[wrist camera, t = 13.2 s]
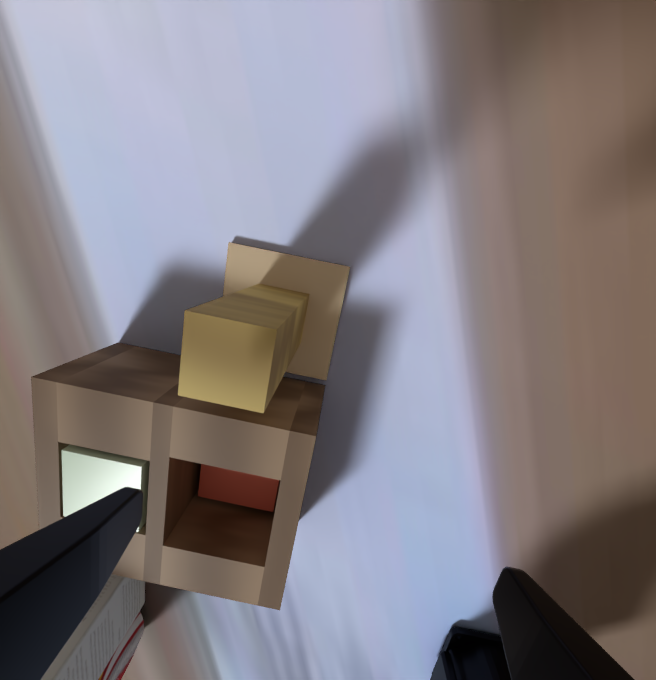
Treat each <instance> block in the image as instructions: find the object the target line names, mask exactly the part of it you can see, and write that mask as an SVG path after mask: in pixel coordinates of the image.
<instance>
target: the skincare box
mask: <svg viewBox="0 0 656 680" xmlns="http://www.w3.org/2000/svg"><path fill="white" fill-rule="evenodd" d="M144 603H145V581H141V580H136V579H131V578H127V577H122V576H117V575H112V574H111V576H110V577H109V579H108V581H107V583H106V584H105V586H104V588H103V589H102V591H101V593H100V594H99V596H98V597H97V599H96V600H95V602H94V603H93V605H92V606H91V608H90V609H89V611H88V612H87V614H86V615H85V617H84V618H83V619H82V621H81V622H80V624H79V625H78V627H77V628H76V629H75V631H74V632H73V634H72V635H71V637H70V638H69V640H68V641H67V642H66V644H65V645H64V647H63V648H62V650H61V651H60V652H59V654H58V655H57V657H56V658H55V660H54V661H53V663H52V664H51V665H50V667H49V668H48V670H47V671H46V673H45V674H44V675H43V677H42V678H41V680H98V679H99V677H100V676H101V674H102V672H103V671H104V669H105V667H106V666H107V664H108V662H109V661H110V659H111V657H112V656H113V654H114V652H115V651H116V649H117V647H118V646H119V644H120V643H121V641H122V639H123V638H124V636H125V634H126V633H127V631H128V630H129V628H130V626H131V625H132V623H133V622H134V620H135V618H136V617H137V615H138V613H139V612H140V610H141V608H142V606H143V605H144Z"/></svg>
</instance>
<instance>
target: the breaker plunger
mask: <svg viewBox="0 0 656 680" xmlns="http://www.w3.org/2000/svg"><path fill="white" fill-rule="evenodd" d="M280 481H281V480H276V479H271V478H267V477H262V476H257V475H252V474H247V473H243V472H238V471H233V470H228V469H224V468H219V467H214V466H209V465H204V464H201V471H200V480H199V489H198V496H199V497H204V498H208V499H213V500H218V501H223V502H227V503H232V504H237V505H242V506H246V507H251V508H256V509H261V510H266V511H270V512H273V511H274V507H275V504H276V500H277V497H278V492H279V486H280Z"/></svg>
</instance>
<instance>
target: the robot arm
mask: <svg viewBox="0 0 656 680" xmlns="http://www.w3.org/2000/svg"><path fill="white" fill-rule="evenodd" d="M142 510H143V491H142V490H140V489H136V488H131V487H124V488H121V489H119V490H117V491H115V492H113V493H111V494H109V495H107V496H106V497H104V498H102V499H100V500H98V501H96V502H94V503H92V504H90V505H88V506H86V507H84V508H82V509H80V510H78V511H76V512H74V513H72V514H70V515H68V516H66V517H64V518H62V519H60V520H58V521H56V522H54V523H52V524H50V525H48V526H46V527H44V528H42V529H40V530H38V531H36V532H34V533H32V534H30V535H28V536H26V537H24V538H22V539H20V540H18V541H17V542H15V543H13V544H11V545H9V546H7V547H5V548H3V549H1V550H0V680H41V678H42V677H43V675H44V674H45V673H46V671H47V670H48V668H49V667H50V665H51V664H52V663H53V661H54V660H55V658H56V657H57V655H58V654H59V652H60V651H61V650H62V648H63V647H64V645H65V644H66V642H67V641H68V640H69V638H70V637H71V635H72V634H73V632H74V631H75V629H76V628H77V627H78V625H79V624H80V622H81V621H82V619H83V618H84V617H85V615H86V614H87V612H88V611H89V609H90V608H91V606H92V605H93V603H94V602H95V600H96V599H97V597H98V596H99V594H100V593H101V591H102V589H103V588H104V586H105V584H106V583H107V581H108V579H109V577H110V576H111V574H112V572H113V570H114V569H115V567H116V565H117V564H118V562H119V560H120V558H121V557H122V555H123V553H124V551H125V550H126V548H127V546H128V544H129V543H130V541H131V539H132V537H133V536H134V534H135V532H136V531H137V529H138V527H139V525H140V522H141V519H142ZM493 604H494V608H495V613H496V617H497V621H498V625H499V630H500V634H501V636H496V635H492V634H487V633H482V632H477V631H473V630H468V629H463V628H459V627H455V628H452V629H451V630H450V632H449V635H448V637H447V640H446V642H445V645H444V647H443V649H442V652H441V653H440V655H439V657H438V660H437V662H436V665H435V667H434V670H433V672H432V676H431V679H430V680H634V679H633V678H632V677H631V676H630V675H629V674H628V673H627V672H626V671H625V670H624V669H623V668H622V667H621V666H620V665H619V664H618V663H617V662H616V661H615V660H614V659H613V658H612V657H611V656H610V655H609V654H608V653H607V652H606V651H605V650H604V649H603V648H602V647H601V646H600V645H599V644H598V643H597V642H596V641H595V640H594V639H593V638H592V637H591V636H590V635H589V634H588V633H587V632H586V631H585V630H584V629H583V628H581V627H580V626H579V625H578V624H577V623H576V622H575V621H574V620H573V619H572V618H571V617H570V616H569V615H568V614H567V613H566V612H565V611H564V610H563V609H562V608H561V607H560V606H559V605H558V604H557V603H556V602H555V601H554V600H553V599H552V598H551V597H550V596H549V595H548V594H547V593H546V592H545V591H544V590H543V589H542V588H541V587H540V586H539V585H538V584H537V583H536V582H535V581H534V580H533V579H532V578H531V577H530V576H529V575H528V574H527V573H525V572H524V571H523V570H520V569H516V568H511V567H505V568H504V569H503V570H502V572H501V574H500V576H499V579H498V581H497V583H496V585H495V588H494V590H493Z"/></svg>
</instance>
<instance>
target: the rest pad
mask: <svg viewBox="0 0 656 680" xmlns="http://www.w3.org/2000/svg"><path fill="white" fill-rule="evenodd" d="M349 270H350V267H349V266H344V265H339V264H334V263H329V262H324V261H319V260H314V259H309V258H304V257H300V256H295V255H290V254H285V253H280V252H275V251H270V250H265V249H260V248H255V247H250V246H245V245H241V244H236V243H230V242H229V244H228V253H227V262H226V271H225V280H224V290H223V296H226V295H229V294H231V293H234V292H237V291H240V290H243V289H245V288H248V287H251V286H254V285H256V284H264V285H269V286H273V287H278V288H283V289H288V290H293V291H297V292H302V293H307V294H310V295H309V301H308V306H307V311H306V317H305V322H304V328H303V333H302V339H301V343H300V345H299V347H298V349H297V351H296V353H295V355H294V357H293V358H292V360H291V362H290V364H289V366H288V368H287V370H286V372H288V373H293V374H297V375H302V376H307V377H312V378H317V379H322V380H327V375H328V371H329V366H330V361H331V356H332V351H333V347H334V342H335V337H336V332H337V327H338V323H339V318H340V313H341V308H342V304H343V299H344V294H345V289H346V284H347V280H348V275H349Z"/></svg>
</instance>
